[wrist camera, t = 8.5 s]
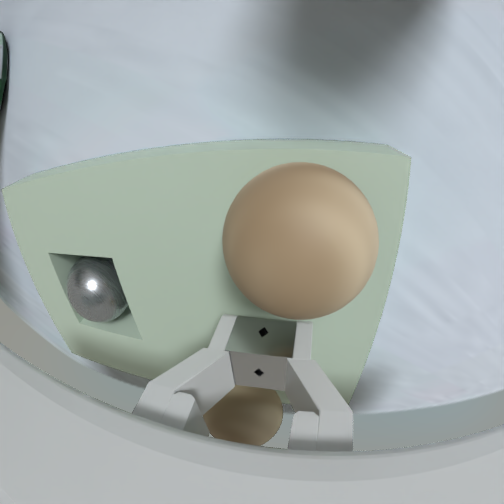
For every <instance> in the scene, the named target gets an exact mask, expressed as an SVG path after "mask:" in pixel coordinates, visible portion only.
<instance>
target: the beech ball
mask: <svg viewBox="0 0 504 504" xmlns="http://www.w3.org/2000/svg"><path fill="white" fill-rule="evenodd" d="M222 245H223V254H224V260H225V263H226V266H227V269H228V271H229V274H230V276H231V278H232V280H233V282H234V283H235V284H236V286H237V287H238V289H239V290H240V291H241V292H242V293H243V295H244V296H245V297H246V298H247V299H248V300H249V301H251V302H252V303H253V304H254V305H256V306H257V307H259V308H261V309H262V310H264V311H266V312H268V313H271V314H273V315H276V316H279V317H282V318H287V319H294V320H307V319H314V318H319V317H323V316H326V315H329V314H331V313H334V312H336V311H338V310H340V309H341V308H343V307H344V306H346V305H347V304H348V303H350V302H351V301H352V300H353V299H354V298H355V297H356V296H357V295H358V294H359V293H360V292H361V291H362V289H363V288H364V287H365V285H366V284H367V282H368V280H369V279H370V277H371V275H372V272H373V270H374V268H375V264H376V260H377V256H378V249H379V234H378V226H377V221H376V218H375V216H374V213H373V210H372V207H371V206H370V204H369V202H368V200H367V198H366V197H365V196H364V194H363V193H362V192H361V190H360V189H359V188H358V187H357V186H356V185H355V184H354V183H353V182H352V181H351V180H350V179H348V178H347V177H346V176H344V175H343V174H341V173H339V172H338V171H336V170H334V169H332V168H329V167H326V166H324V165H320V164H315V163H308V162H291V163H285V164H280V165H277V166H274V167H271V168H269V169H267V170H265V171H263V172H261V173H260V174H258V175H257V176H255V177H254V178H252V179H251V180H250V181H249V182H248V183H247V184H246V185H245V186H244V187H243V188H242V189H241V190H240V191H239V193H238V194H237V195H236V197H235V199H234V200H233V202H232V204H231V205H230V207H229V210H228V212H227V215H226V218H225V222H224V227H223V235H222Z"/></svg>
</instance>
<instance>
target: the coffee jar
mask: <svg viewBox="0 0 504 504" xmlns="http://www.w3.org/2000/svg"><path fill="white" fill-rule="evenodd" d="M7 68H8V52H7V47H6V40H5V36H4V34H3V32H1V31H0V109H1V103H2V97H3V92H4V87H5V83H6V80H7Z"/></svg>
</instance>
